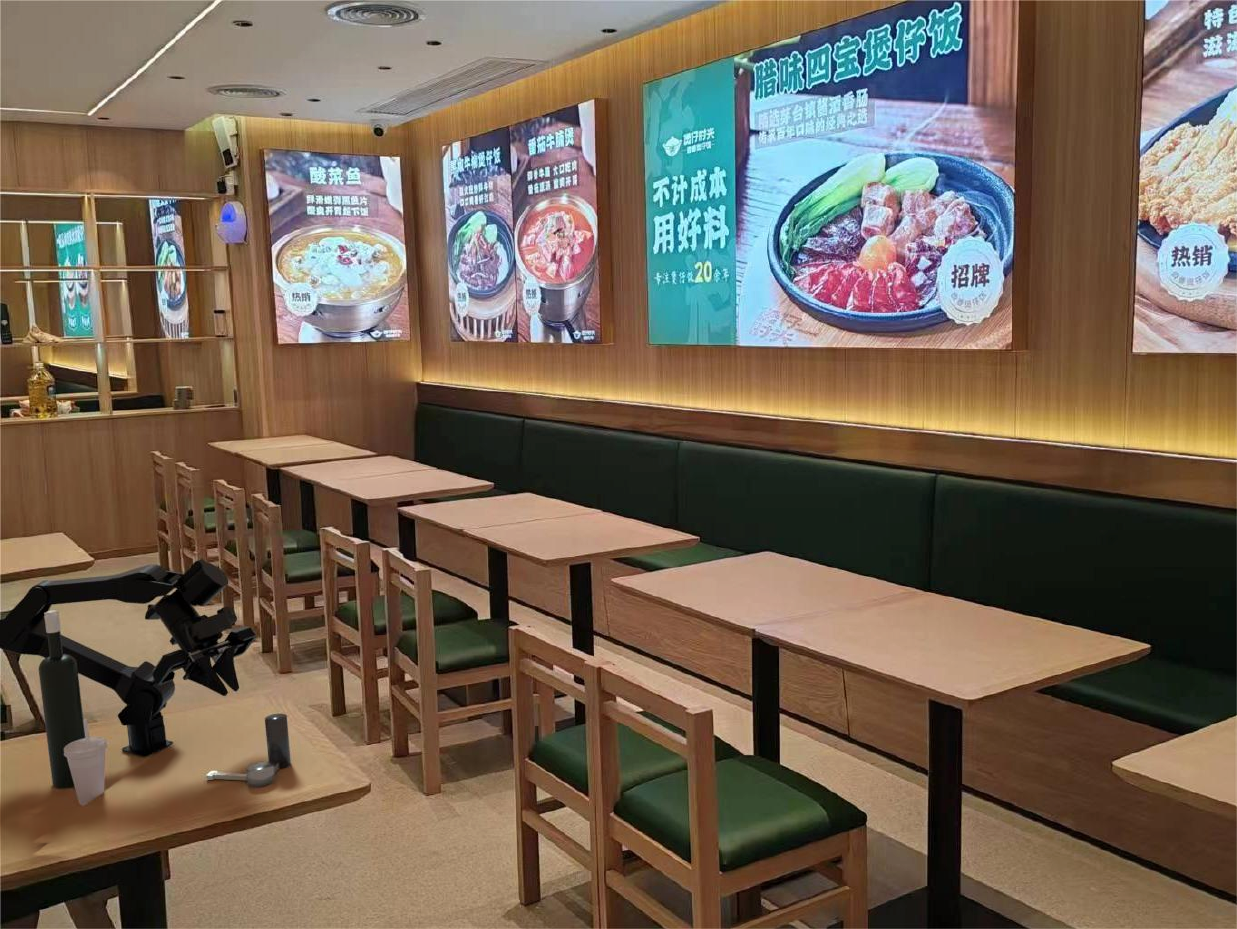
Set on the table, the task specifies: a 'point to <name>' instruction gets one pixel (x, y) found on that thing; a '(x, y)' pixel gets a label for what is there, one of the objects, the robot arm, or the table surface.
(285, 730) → the dial
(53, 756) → the wine bottle
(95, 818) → the table surface
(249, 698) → the table surface
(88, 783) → the smoothie
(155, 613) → the robot arm
